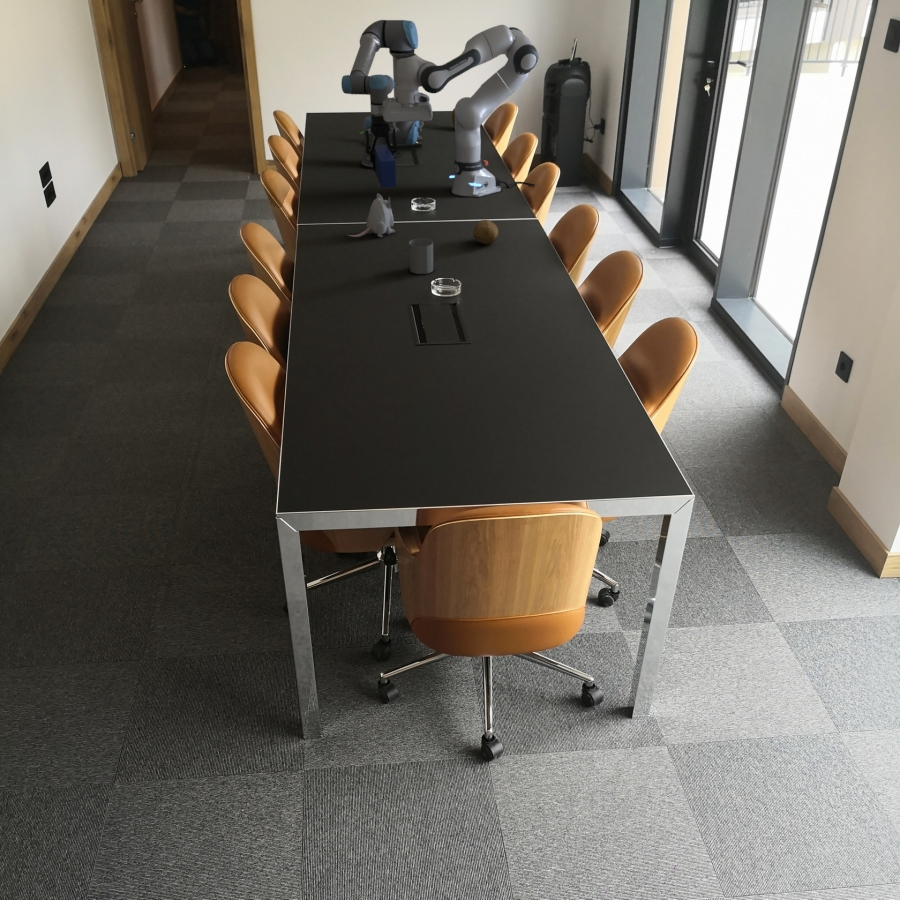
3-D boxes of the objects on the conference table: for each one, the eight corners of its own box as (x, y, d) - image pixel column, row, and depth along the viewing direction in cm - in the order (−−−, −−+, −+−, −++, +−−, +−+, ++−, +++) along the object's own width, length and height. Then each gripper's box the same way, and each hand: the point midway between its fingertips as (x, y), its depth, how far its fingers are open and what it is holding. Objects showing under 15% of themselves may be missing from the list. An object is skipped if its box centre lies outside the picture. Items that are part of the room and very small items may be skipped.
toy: (400, 232, 342) (399, 194, 334) (355, 247, 327) (353, 208, 319) (385, 227, 347) (383, 189, 339) (340, 242, 333) (337, 203, 324)
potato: (495, 236, 338) (496, 216, 334) (500, 248, 327) (500, 227, 322) (471, 236, 338) (471, 216, 334) (474, 249, 326) (474, 228, 322)
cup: (409, 265, 311) (408, 238, 306) (432, 265, 312) (431, 238, 307) (410, 274, 304) (409, 246, 299) (433, 273, 305) (433, 246, 299)
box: (374, 170, 386) (373, 145, 380) (387, 169, 387) (386, 144, 381) (381, 187, 363) (380, 161, 357) (396, 186, 364) (395, 160, 358)
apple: (471, 132, 486) (471, 108, 479) (451, 132, 486) (451, 108, 479) (470, 128, 495) (471, 104, 488) (452, 128, 495) (452, 104, 488)
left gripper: (358, 117, 366) (361, 172, 378) (403, 115, 369) (404, 170, 381) (356, 113, 372) (359, 168, 385) (400, 111, 375) (402, 166, 388)
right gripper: (383, 99, 349) (384, 134, 356) (433, 97, 352) (433, 133, 360) (381, 96, 354) (382, 131, 361) (430, 94, 357) (430, 129, 365)
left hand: (381, 169), depth 383 cm, fingers closed on box, 6 cm apart
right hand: (408, 132), depth 361 cm, fingers open, 8 cm apart
